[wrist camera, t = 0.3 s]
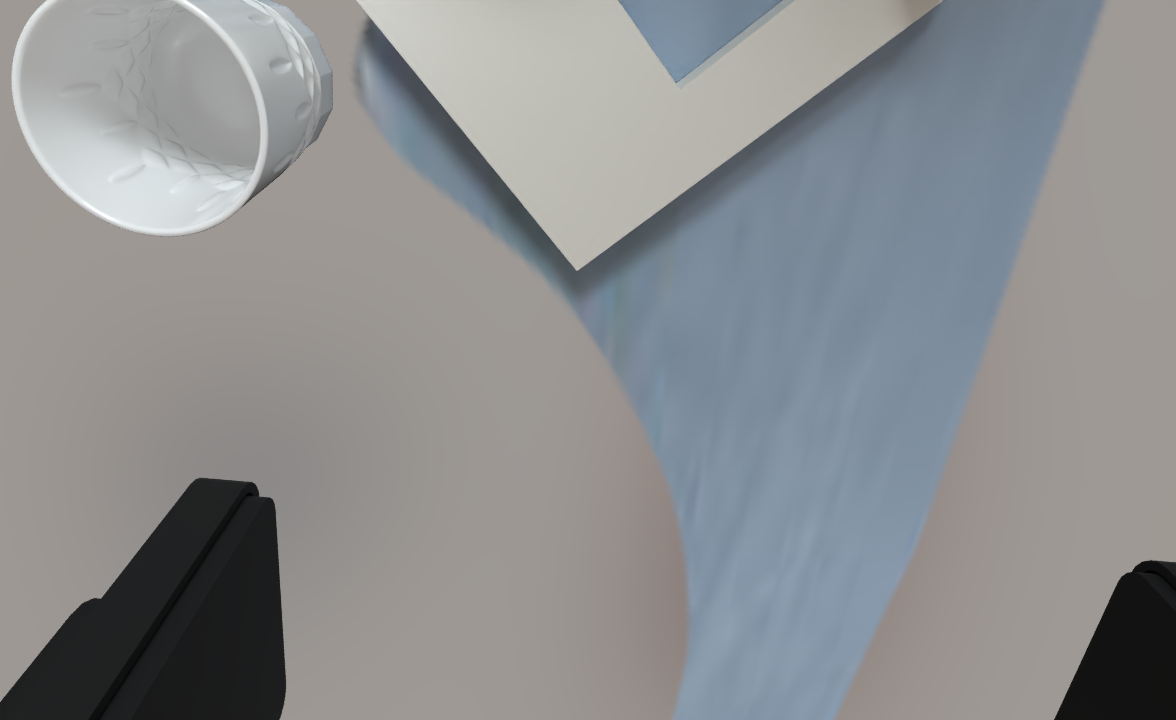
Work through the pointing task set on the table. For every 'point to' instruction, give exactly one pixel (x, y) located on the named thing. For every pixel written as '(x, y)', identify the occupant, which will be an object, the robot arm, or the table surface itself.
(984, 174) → the table surface
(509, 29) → the white panel with opening
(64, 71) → the white cup
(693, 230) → the table surface
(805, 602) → the table surface
